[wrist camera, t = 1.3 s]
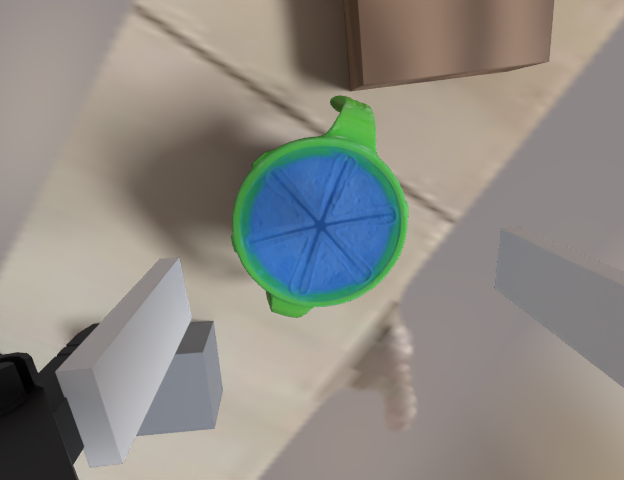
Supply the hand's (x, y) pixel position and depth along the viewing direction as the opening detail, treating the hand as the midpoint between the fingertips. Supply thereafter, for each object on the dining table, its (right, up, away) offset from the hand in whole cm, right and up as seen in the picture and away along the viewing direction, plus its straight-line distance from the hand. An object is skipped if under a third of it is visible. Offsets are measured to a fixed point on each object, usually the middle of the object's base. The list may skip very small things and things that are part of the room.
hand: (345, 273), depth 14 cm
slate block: (-15, -10, +20) cm, 27 cm away
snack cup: (-2, +5, +16) cm, 17 cm away
